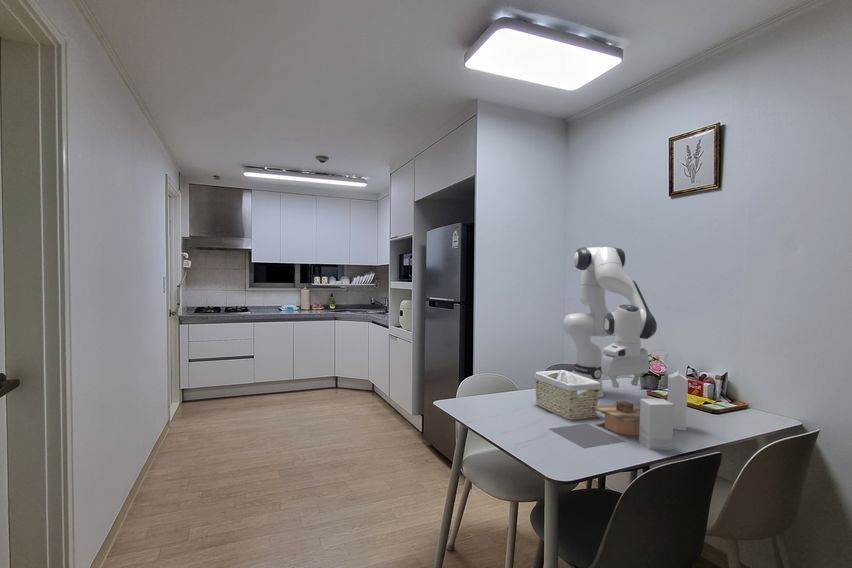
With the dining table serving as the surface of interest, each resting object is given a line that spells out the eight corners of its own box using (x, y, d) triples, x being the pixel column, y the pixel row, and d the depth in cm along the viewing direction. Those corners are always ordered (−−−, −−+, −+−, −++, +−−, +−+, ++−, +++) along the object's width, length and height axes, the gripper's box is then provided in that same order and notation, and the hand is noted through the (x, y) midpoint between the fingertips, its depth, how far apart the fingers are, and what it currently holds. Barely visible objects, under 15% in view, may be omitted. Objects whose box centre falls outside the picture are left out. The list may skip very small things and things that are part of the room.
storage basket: (531, 404, 183) (532, 370, 183) (562, 401, 188) (563, 368, 188) (567, 422, 160) (569, 384, 160) (601, 419, 166) (602, 382, 166)
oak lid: (591, 408, 159) (592, 398, 159) (623, 405, 165) (623, 395, 165) (626, 423, 144) (626, 411, 144) (659, 418, 150) (659, 407, 150)
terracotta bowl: (596, 425, 158) (597, 409, 158) (622, 421, 163) (623, 406, 163) (625, 438, 146) (625, 421, 146) (652, 434, 151) (652, 417, 151)
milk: (667, 428, 157) (669, 370, 157) (666, 423, 163) (668, 367, 162) (686, 431, 155) (688, 372, 154) (684, 426, 160) (686, 368, 160)
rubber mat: (548, 430, 151) (548, 428, 151) (586, 425, 158) (587, 423, 158) (583, 450, 135) (583, 448, 135) (625, 443, 141) (625, 441, 141)
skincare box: (661, 443, 142) (663, 398, 142) (673, 451, 135) (675, 404, 135) (637, 443, 142) (639, 397, 141) (648, 451, 135) (650, 403, 135)
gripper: (640, 346, 161) (638, 381, 161) (599, 348, 153) (597, 386, 154) (654, 349, 155) (652, 386, 155) (612, 352, 147) (610, 391, 148)
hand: (625, 386), depth 154 cm, fingers open, 8 cm apart
